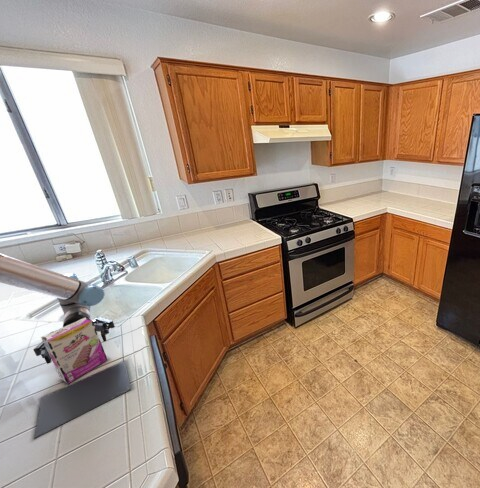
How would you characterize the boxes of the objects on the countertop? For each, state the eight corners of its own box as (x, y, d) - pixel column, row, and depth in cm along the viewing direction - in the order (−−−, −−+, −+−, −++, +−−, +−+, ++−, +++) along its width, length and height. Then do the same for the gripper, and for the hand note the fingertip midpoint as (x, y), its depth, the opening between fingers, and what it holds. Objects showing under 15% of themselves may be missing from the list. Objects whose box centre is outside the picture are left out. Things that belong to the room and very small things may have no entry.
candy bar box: (68, 385, 80) (46, 341, 75) (60, 379, 83) (39, 337, 77) (109, 360, 90) (92, 319, 84) (101, 355, 92) (84, 316, 87)
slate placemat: (34, 438, 65) (34, 437, 65) (41, 398, 76) (41, 397, 76) (131, 389, 77) (130, 389, 77) (124, 361, 89) (124, 360, 89)
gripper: (120, 315, 108) (127, 339, 93) (34, 345, 92) (25, 380, 77) (114, 299, 105) (120, 321, 90) (25, 327, 90) (14, 360, 75)
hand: (76, 348), depth 84 cm, fingers open, 13 cm apart
